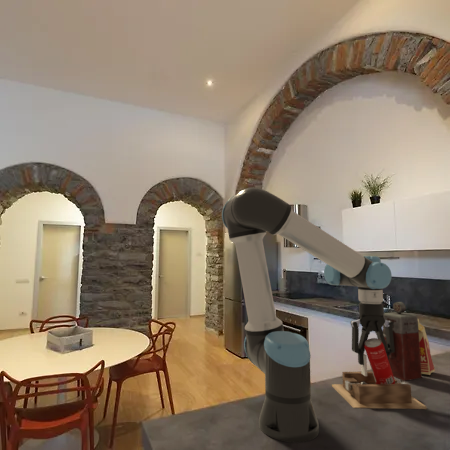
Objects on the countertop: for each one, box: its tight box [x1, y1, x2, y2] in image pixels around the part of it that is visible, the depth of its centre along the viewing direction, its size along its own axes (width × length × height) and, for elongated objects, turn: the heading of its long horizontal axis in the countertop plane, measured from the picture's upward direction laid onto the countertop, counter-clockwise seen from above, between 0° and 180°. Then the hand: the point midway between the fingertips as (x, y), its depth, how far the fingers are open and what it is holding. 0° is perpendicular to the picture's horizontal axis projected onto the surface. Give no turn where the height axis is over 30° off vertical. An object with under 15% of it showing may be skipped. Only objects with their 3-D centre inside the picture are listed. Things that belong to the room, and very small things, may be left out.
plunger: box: [345, 381, 367, 391], centre depth 106 cm, size 7×2×2 cm, turn 92°
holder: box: [331, 371, 428, 410], centre depth 106 cm, size 22×18×6 cm
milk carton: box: [418, 318, 436, 376], centre depth 133 cm, size 9×9×20 cm
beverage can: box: [365, 337, 396, 384], centre depth 104 cm, size 6×6×15 cm
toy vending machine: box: [382, 301, 422, 382], centre depth 128 cm, size 9×11×28 cm
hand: (374, 374), depth 106 cm, fingers open, 6 cm apart
